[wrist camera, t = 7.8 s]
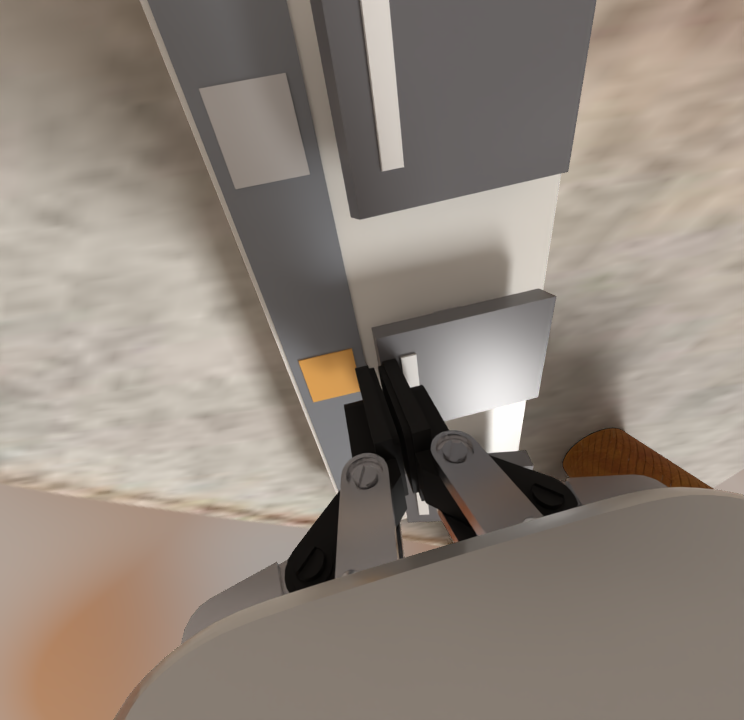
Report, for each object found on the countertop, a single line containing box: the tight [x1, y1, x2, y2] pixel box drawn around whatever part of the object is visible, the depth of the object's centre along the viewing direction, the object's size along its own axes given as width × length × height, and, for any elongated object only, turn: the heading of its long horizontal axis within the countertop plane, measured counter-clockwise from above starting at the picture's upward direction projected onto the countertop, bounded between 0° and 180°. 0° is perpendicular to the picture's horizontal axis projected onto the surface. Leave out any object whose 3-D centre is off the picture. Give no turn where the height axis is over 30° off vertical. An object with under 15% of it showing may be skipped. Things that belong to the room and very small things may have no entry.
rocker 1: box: [310, 0, 596, 220], centre depth 8 cm, size 7×5×1 cm
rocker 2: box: [404, 450, 533, 522], centre depth 17 cm, size 7×5×1 cm
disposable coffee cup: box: [563, 428, 713, 489], centre depth 23 cm, size 10×10×12 cm
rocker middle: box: [371, 288, 556, 421], centre depth 12 cm, size 7×5×1 cm
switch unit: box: [140, 0, 561, 520], centre depth 15 cm, size 12×27×5 cm, turn 10°
